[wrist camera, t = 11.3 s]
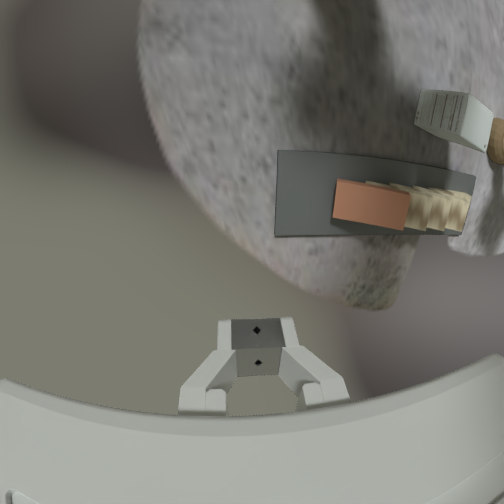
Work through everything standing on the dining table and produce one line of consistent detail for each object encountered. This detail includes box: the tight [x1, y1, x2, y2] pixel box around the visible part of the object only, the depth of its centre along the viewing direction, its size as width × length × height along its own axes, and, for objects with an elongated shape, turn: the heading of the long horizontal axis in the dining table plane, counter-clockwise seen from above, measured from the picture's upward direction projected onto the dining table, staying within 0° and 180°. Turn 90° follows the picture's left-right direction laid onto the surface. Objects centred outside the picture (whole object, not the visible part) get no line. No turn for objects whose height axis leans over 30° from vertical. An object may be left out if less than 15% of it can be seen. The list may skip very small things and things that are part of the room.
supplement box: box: [414, 89, 493, 153], centre depth 30 cm, size 7×7×13 cm
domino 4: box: [412, 185, 469, 232], centre depth 41 cm, size 6×2×12 cm
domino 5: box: [428, 187, 472, 220], centre depth 43 cm, size 6×2×12 cm
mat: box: [274, 150, 476, 236], centre depth 43 cm, size 14×44×1 cm, turn 90°
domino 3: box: [389, 183, 452, 231], centre depth 40 cm, size 6×2×12 cm
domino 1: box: [333, 179, 411, 231], centre depth 40 cm, size 6×2×12 cm
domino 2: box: [365, 181, 434, 231], centre depth 40 cm, size 6×2×12 cm
